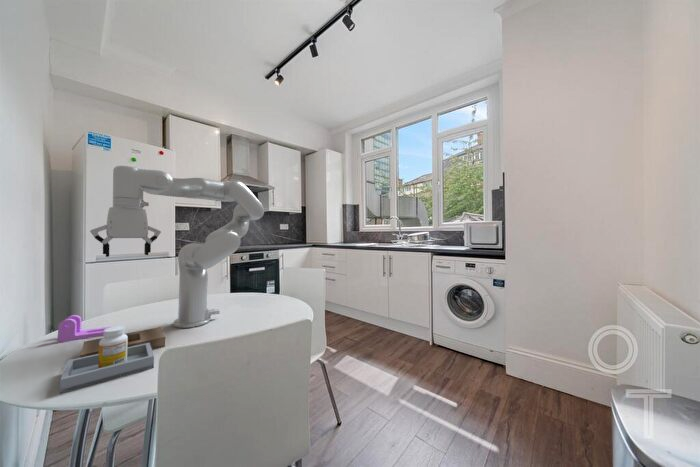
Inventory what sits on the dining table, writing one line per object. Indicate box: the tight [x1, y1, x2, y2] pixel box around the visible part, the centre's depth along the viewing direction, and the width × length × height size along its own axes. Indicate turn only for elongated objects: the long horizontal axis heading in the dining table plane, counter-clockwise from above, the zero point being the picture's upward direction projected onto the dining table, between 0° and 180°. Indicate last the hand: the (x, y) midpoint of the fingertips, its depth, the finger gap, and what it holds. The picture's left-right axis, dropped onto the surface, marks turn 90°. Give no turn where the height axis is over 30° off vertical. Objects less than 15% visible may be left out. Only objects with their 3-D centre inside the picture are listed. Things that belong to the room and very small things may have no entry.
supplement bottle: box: [98, 325, 128, 368], centre depth 63 cm, size 5×5×10 cm
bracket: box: [57, 314, 111, 343], centre depth 84 cm, size 13×6×7 cm, turn 123°
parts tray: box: [59, 343, 155, 394], centre depth 63 cm, size 16×11×3 cm
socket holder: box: [79, 326, 166, 358], centre depth 74 cm, size 18×11×3 cm, turn 134°
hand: (127, 255), depth 82 cm, fingers open, 9 cm apart
